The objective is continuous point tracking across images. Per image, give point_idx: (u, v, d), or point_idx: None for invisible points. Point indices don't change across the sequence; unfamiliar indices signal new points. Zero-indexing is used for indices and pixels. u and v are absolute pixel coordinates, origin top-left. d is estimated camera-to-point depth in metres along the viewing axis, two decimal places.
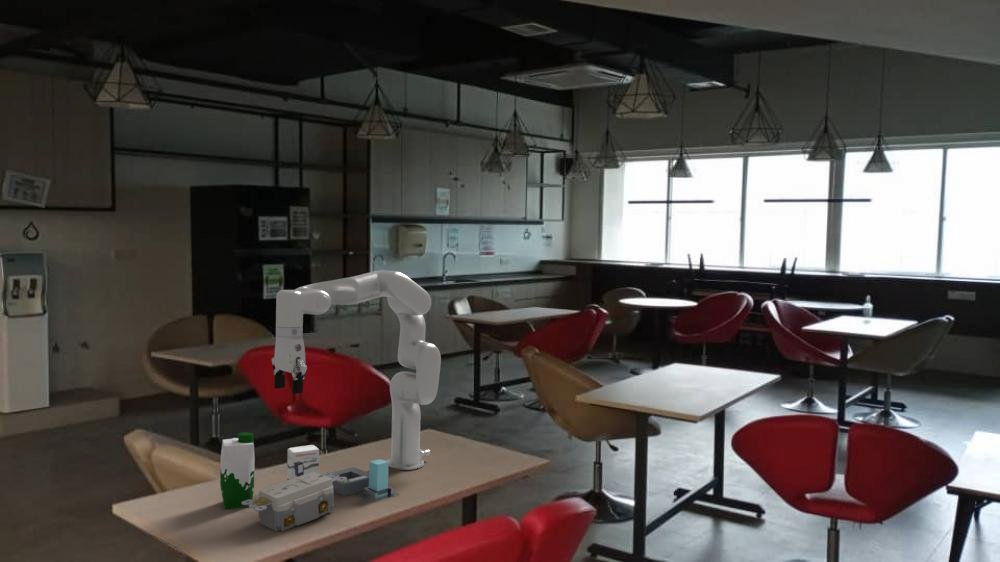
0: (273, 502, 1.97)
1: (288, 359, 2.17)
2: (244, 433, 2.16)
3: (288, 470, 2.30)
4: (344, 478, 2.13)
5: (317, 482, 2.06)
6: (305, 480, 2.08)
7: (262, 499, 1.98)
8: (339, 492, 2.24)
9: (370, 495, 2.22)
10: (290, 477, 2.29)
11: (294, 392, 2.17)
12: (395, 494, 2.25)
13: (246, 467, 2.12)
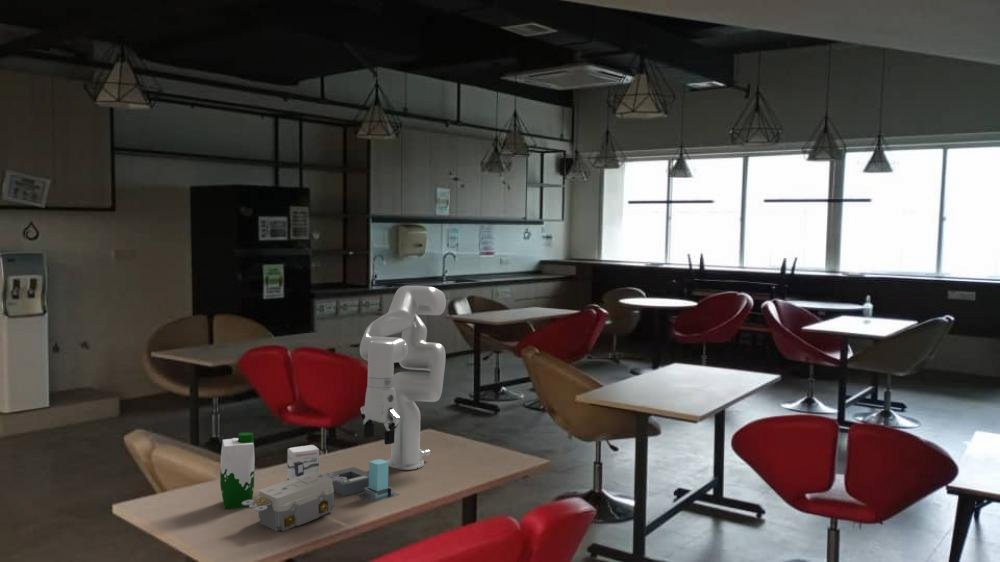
0: (273, 502, 1.96)
1: (381, 410, 2.19)
2: (244, 433, 2.16)
3: (288, 470, 2.30)
4: (344, 478, 2.13)
5: (317, 482, 2.06)
6: (305, 480, 2.08)
7: (262, 499, 1.98)
8: (339, 492, 2.24)
9: (370, 495, 2.22)
10: (290, 477, 2.29)
11: (386, 443, 2.19)
12: (395, 494, 2.25)
13: (246, 467, 2.12)
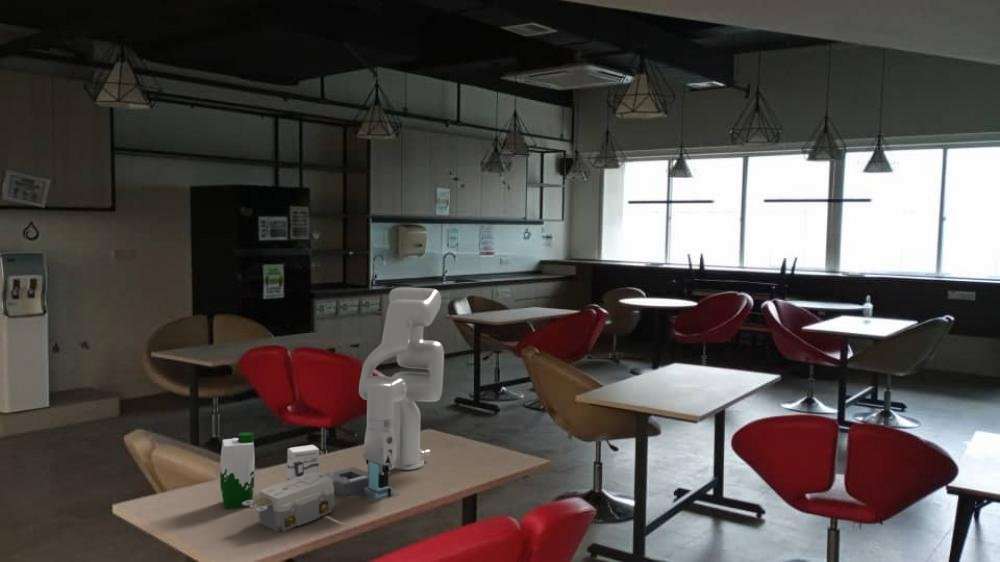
0: (274, 502, 1.96)
1: (380, 452, 2.20)
2: (244, 433, 2.16)
3: (288, 470, 2.30)
4: (344, 478, 2.13)
5: (318, 482, 2.06)
6: (305, 480, 2.07)
7: (263, 499, 1.97)
8: (339, 492, 2.24)
9: (370, 495, 2.22)
10: (290, 477, 2.29)
11: (380, 486, 2.22)
12: (395, 494, 2.25)
13: (246, 467, 2.12)
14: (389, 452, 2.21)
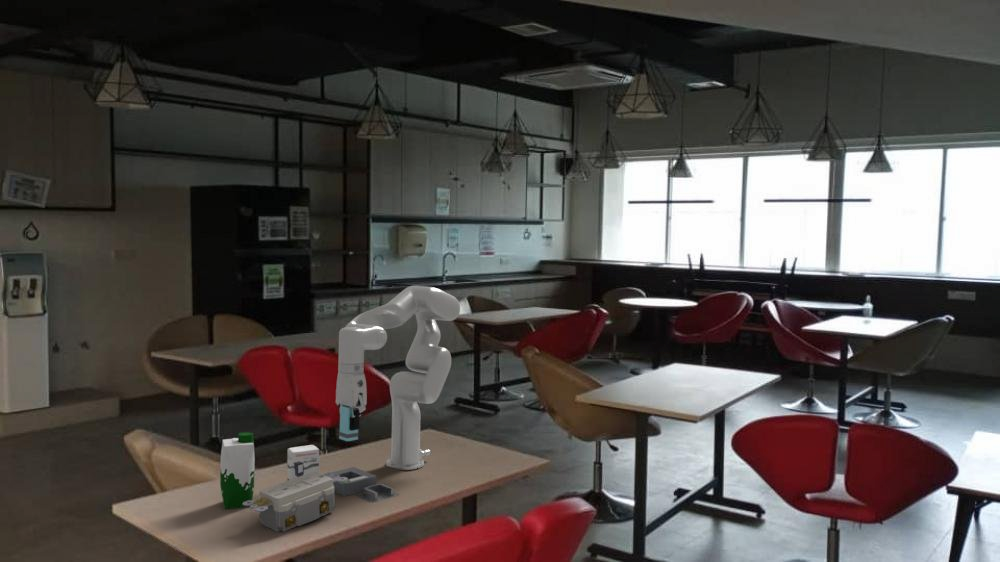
0: (274, 503, 1.96)
1: (351, 394, 2.25)
2: (244, 433, 2.16)
3: (288, 470, 2.30)
4: (345, 478, 2.13)
5: (318, 482, 2.06)
6: (306, 480, 2.07)
7: (263, 500, 1.97)
8: (339, 492, 2.24)
9: (370, 495, 2.22)
10: (290, 477, 2.29)
11: (351, 429, 2.27)
12: (395, 494, 2.25)
13: (246, 467, 2.12)
14: (360, 395, 2.26)
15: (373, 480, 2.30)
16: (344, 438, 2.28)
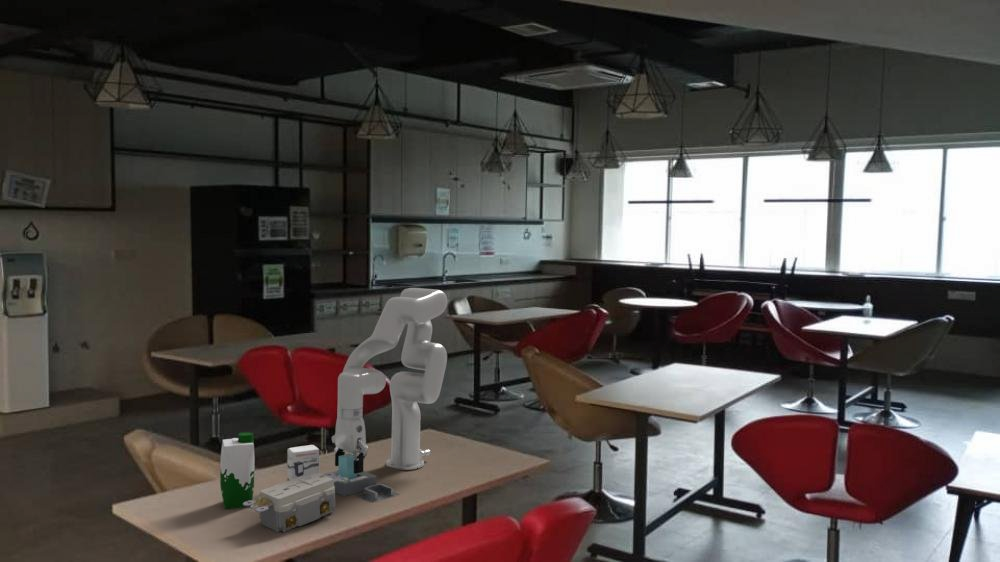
0: (275, 503, 1.96)
1: (350, 440, 2.26)
2: (244, 433, 2.16)
3: (288, 470, 2.30)
4: (345, 478, 2.13)
5: (319, 482, 2.06)
6: (306, 481, 2.07)
7: (264, 500, 1.97)
8: (339, 492, 2.24)
9: (370, 495, 2.22)
10: (290, 477, 2.29)
11: (355, 472, 2.27)
12: (395, 494, 2.25)
13: (246, 467, 2.12)
14: (359, 438, 2.27)
15: (373, 480, 2.30)
16: None
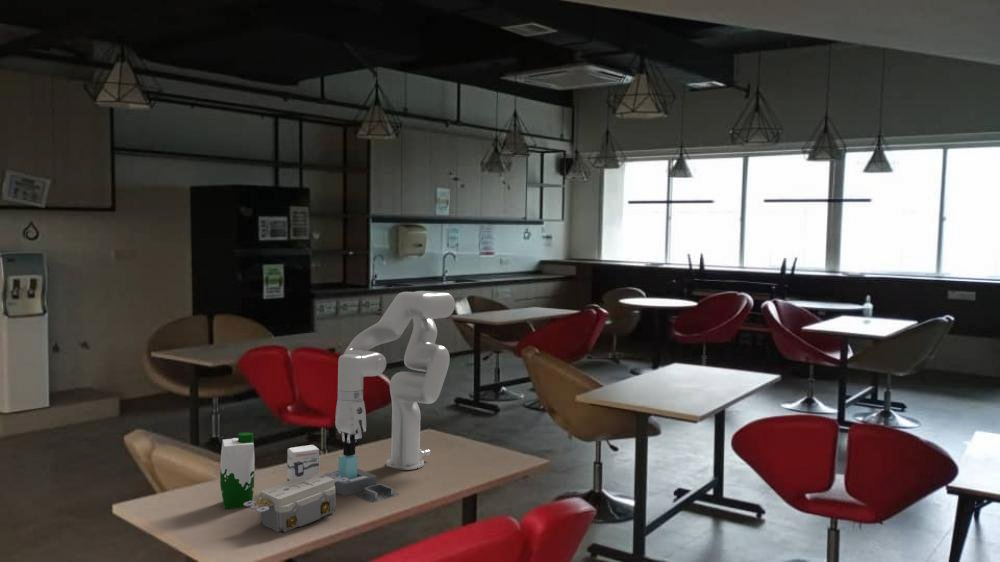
0: (275, 503, 1.96)
1: (350, 422, 2.26)
2: (244, 433, 2.16)
3: (288, 470, 2.30)
4: (346, 479, 2.13)
5: (319, 483, 2.06)
6: (307, 481, 2.07)
7: (264, 500, 1.97)
8: (339, 492, 2.24)
9: (370, 495, 2.22)
10: (290, 477, 2.29)
11: (347, 454, 2.29)
12: (395, 494, 2.25)
13: (246, 467, 2.12)
14: (358, 423, 2.27)
15: (373, 480, 2.30)
16: None
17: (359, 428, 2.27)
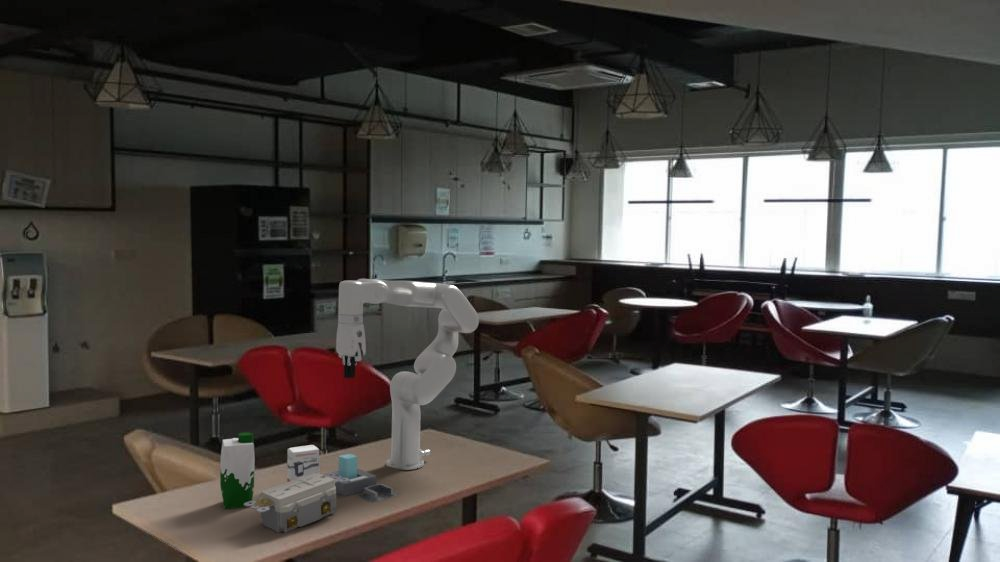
0: (276, 503, 1.96)
1: (350, 344, 2.35)
2: (244, 433, 2.16)
3: (288, 470, 2.30)
4: (346, 479, 2.12)
5: (320, 483, 2.05)
6: (307, 481, 2.07)
7: (265, 500, 1.97)
8: (339, 492, 2.24)
9: (370, 495, 2.22)
10: (290, 477, 2.29)
11: (347, 376, 2.38)
12: (395, 494, 2.25)
13: (246, 467, 2.12)
14: (358, 346, 2.36)
15: (373, 480, 2.30)
16: None
17: (359, 350, 2.36)
